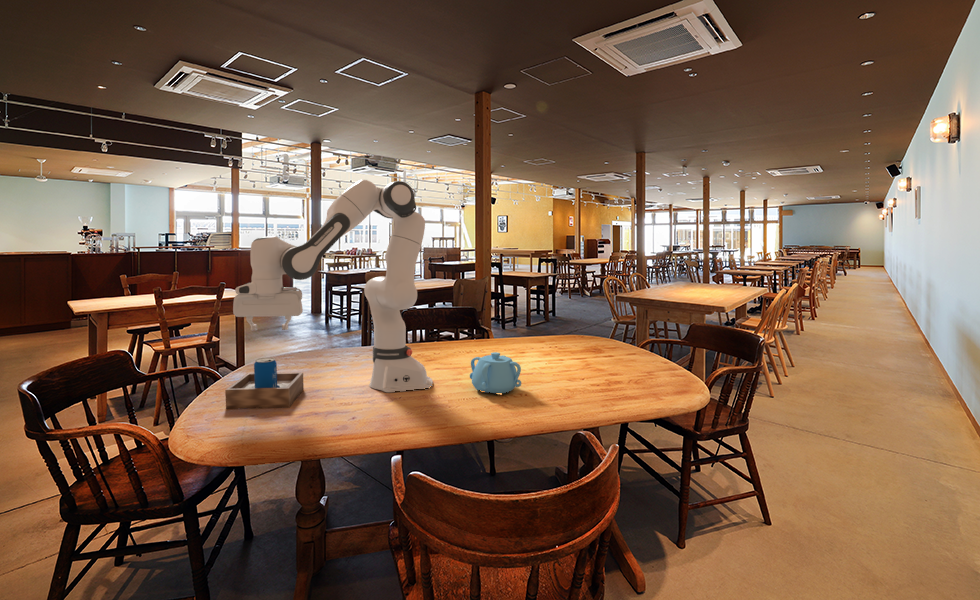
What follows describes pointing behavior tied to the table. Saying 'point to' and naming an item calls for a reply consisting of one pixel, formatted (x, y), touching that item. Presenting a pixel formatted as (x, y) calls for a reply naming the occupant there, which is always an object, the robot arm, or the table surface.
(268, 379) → the beverage can
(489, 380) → the decorative pot
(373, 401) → the table surface
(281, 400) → the caddy
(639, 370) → the table surface
